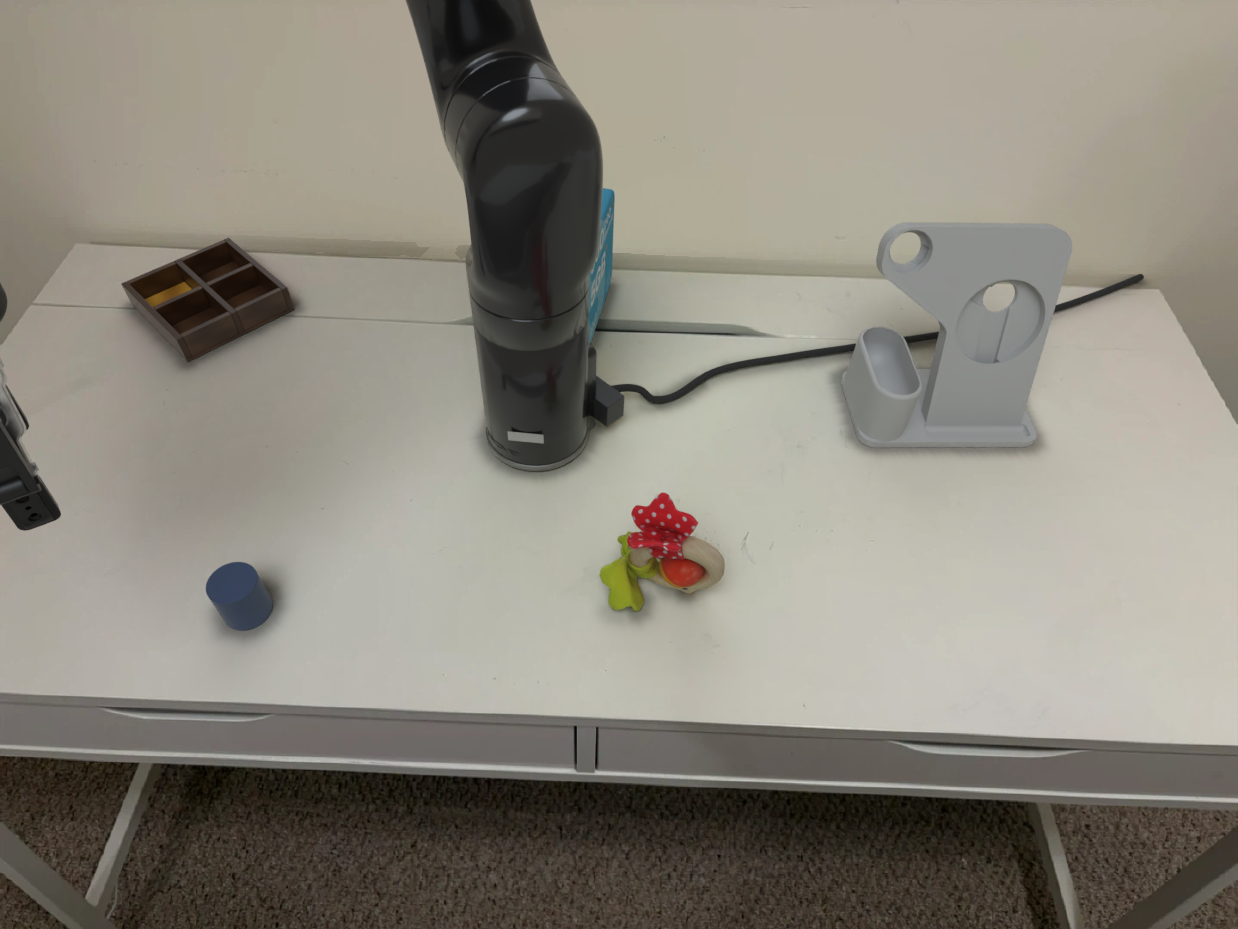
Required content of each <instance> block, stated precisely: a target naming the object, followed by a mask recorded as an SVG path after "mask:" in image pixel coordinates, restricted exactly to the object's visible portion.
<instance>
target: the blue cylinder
mask: <svg viewBox="0 0 1238 929" xmlns="http://www.w3.org/2000/svg"><path fill="white" fill-rule="evenodd" d="M205 592H206V596H207V597H208V599H209V600H210V602H211V603H212V605H213V606H214V607H215V610H216V611H217V612H218V614H219V615H220V617H221V618H222V620H223V621H224V623H225V624H226V625H227V627H228V628H229V629H232V630H235V631H241V632H243V631H245V632H246V631H250V630H253V629H255V628H257V627H259V626H261V625H262V624H264V622H266V620H267V619H268V618H269V617H270V616H271V614H272V611H273V608H274V607H273V599H272V597H271V595H270V593H269V592H268V589H267V588H266V586H265V584H264V582H263V581H262V578H261V577H260V576H259V574H258V571H257V570H256V568H255V567H254V566H252V564H250V563H247V562H244V561H233V562H228V563H226V564H223V565H221V566H219V567H218V568H216V569H215V570H214V571H213V572H212V573H211V574H210V575H209V577H208V579H207V581H206V583H205Z"/></svg>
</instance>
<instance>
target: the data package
mask: <svg viewBox="0 0 1238 929" xmlns="http://www.w3.org/2000/svg"><path fill="white" fill-rule="evenodd" d="M615 197H616V196H615V191H614V190H613V189H612V188H604V187H603V191H602V208H601V223H600V238H599V248H598V254H597V258H596V261H595V263H594V266H593V268H592V269H591V271H590V273H589V342H588V343H589V344H590V345H591V343H592V340H593V338H594V335H595V331H596V329H597V325H598V322H599V319H600V316H601V314H602V310H603V307H604V304H605V301H606V298H607V295H608V292H609V289H610V285H611V281H612V274H613V273H612V272H613V252H614V251H613V249H614V226H615V225H614V224H615V202H616V201H615Z"/></svg>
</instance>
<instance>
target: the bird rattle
mask: <svg viewBox="0 0 1238 929" xmlns="http://www.w3.org/2000/svg"><path fill="white" fill-rule="evenodd" d="M631 518H632V520H633V523H634V524H635V526H636V527H637V528H638V529H639V530H640V531H633V532H631V531H629V530H628V531H627V532H626V533H625V534H621V535H619V536H618V537H617V542H618V543H619V545H621V548H620V553H621V557H620V558H618V559H616V560H614V561H612V562H611V563H608V564H605V565H604V566H603V567H601V569H600V572H599V578H600V581H601V582H602V583H603V585H604V586H606V587H607V588H609V593H608V600H607V601H608V606H609V607H611V608H612V610H614V611H621V610H624V609H626V608H629V607H631V608H632V610H633V611H634V612H636V613H637V612H640V611H641V610H642V609H643V606H644V603H645V597H644V595H643V592H642V590H641V586H640V584H639V581H638V577H639V578H641V579H646V580H648V581H649V582H652V583H654V584H657V585H659V586H662V587H665V588H669V589H674V590H678V591H681V592H683V593H685V594H687V595H691V594H693V593H695V592H696V591H699V590H704V589H708V588H710V587H713V586H714V585H716V584H718V583H719V582H720V581H721V580H722V578H723V576H724V573H725V568H726V562H725V558H724V556H723V554H722V553H721V551H719V549H718V548H717V547H715V546H713V545H712V544H711V543H709V542H707V541H705V540H703V539H702V538H698V537H695V536H693V535H692V533H693V532H694V531H695V530H696V528H697V526H698V525H699V522H698V521H697V519H696V518H695V517H694V515H692V514H691V513H688V512H685V511H681V510H678V509H677V506H676V505H675V503H674V501H673V499H672V498H671V497H670V495H669V493H667V492H660V493H659V494H657V496H655V497H654V498H653V500H652V501H651V502H650V504H649V505H639V504H637V505H635V506H634V507H633V508H632V510H631Z"/></svg>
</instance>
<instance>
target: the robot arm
mask: <svg viewBox="0 0 1238 929" xmlns="http://www.w3.org/2000/svg"><path fill="white" fill-rule="evenodd" d="M404 1H405V3H406V6H407V10H408V13H409V16H410V18H411V21H412V24H413V28H414V32H415V35H416V38H417V42H418V45H419V49H420V52H421V55H422V59H423V62H424V63H423V64H424V66H425V70H426V74H427V78H428V81H429V86H430V90H431V93H432V98H433V101H434V105H435V110H436V115H437V119H438V122H439V126H440V131H441V134H442V138H443V142H444V145H445V147H446V149H447V151H448V153H449V156H450V158H451V159H452V162H453V164H454V166H455V168H456V171H457V172H458V174H459V176H460V178H461V181H462V183H463V187H464V193H465V201H466V207H467V215H468V226H469V233H470V234H469V235H470V245H469V247H468V249H467V252H466V255H465V271H466V278H467V279H466V280H467V286H468V294H469V301H470V310H471V317H472V324H473V332H474V341H475V348H476V356H477V357H476V358H477V364H478V373H479V379H480V381H479V382H480V388H481V396H482V404H483V413H484V420H485V437H486V438H485V439H486V442H487V446H488V447H489V450H490V451H491V453H493V455H494V457H496V458H497V459H498V460H499V461H501V462H502V463H504V464H506V465H507V466H510V467H512V468H513V469H518V470H520V471H526V472H527V471H528V472H544V471H551V470H555V469H557V468H560V467H561V468H562V467H563V466H565V465H567V464H569V463H571V462H572V461H573V460H575V459H576V458H578V456H579V455H580V454H581V453H582V452H583V450H584V449H585V447H586V445H587V442H588V440H589V432H590V431H591V430H592V429H593V428H595V427H596V421H598V422H599V423H600V424H602V425H603V426H604V427H606V428H608V427H610V426H611V425H612V424H613V423H615V422H617V421H618V420H619V419H621V418H623V416H624V412H625V398H626V396H625V395H624V394H623V393H635V394H639V395H640V396H641V397H642V398H643V399H644V400H646V402H649V403H651V404H655V405H660V404H661V405H662V404H668V403H671V402H674V401H677V400H679V399H680V398H682V397H684V396H686V395H687V394H689V393H690V392H692V391H693V390H694V389H695V388H697V387H698V386H700V385H701V384H703V383H704V382H706V381H708V380H710V379H711V378H713V377H716V376H718V375H721V374H725V373H729V372H733V371H737V370H741V369H746V368H752V367H757V366H765V365H772V364H778V363H786V362H791V361H796V360H803V359H810V358H816V357H823V356H829V355H837V354H844V353H850V352H854V349H855V346H856V343H849V344H842V345H835V346H827V347H821V348H815V349H808V350H800V351H795V352H789V353H782V354H777V355H770V356H763V357H756V358H749V359H743V360H740V361H739V360H738V361H735V362H731V363H727V364H723V365H720V366H716V367H713V368H711V369H709V370H707V371H704V372H702V374H699V375H698V376H697V377H695V378H693V379H692V380H690V382H687V384H686V385H684V386H682V387H681V388H680V389H678V390H676V391H674V392H672V393H669V394H665V395H653V394H652V393H650V391H649V390H648V389H646V388H645V387H644V386H642V385H639V384H636V383H635V384H634V383H621V384H613V385H610V384H609V383H607V382H606V381H605V380H603V379H602V378H600V377H599V376H598V375H597V368H598V367H597V366H598V364H597V363H598V360H597V358H598V352H597V349H596V348H595V347H594V346H593V345H592V344H591V343H590V344H589V343H588V342H589V273H590V271H591V269H592V268H593V266H594V263H595V261H596V258H597V254H598V248H599V238H600V223H601V208H602V191H603V188H604V155H603V148H602V142H601V137H600V133H599V131H598V127H597V126H596V123H595V122H594V120H593V118H592V116H591V115H590V113H589V112H588V111H587V109H586V108H585V107H584V105H583V103H582V102H581V101H580V99H579V98H578V97H577V94H575V92H574V91H573V90H572V88H571V86H569V83H567V81H566V80H565V78H564V76H562V74H561V72H560V71H559V69H558V68H557V65H556V64H555V61H554V60H553V57H552V55H551V52H550V51H549V48H548V45H547V43H546V41H545V37H544V35H543V32H542V30H541V27H540V24H539V21H538V18H537V16H536V12H535V9H534V6H533V3H532V0H404ZM1144 279H1145V276H1144V274H1142V273H1138V274H1136V275H1133V276H1130V277H1129V278H1126V279H1124V280H1122V281H1119V282H1117V283H1114V284H1112V285H1109V286H1107V287H1104V288H1102V289H1099V290H1096V291H1093V292H1090V293H1088V294H1085V295H1082V296H1079V297H1077V298H1074V299H1070V300H1067V301H1065V302H1061V303H1058V304H1056V307H1055V310H1054V313H1053V314H1055V313H1058V312H1061V311H1065V310H1068V309H1071V308H1074V307H1075V306H1079V305H1082V304H1085V303H1087V302H1090V301H1093V300H1095V299H1098V298H1101V297H1103V296H1106V295H1109V294H1112V293H1113V292H1116V291H1119V290H1121V289H1124V288H1126V287H1129V286H1131V285H1134V284H1135V283H1138V282H1140V281H1143V280H1144ZM7 309H8V296H7V293H6V290H5V289H4V287H3V285H2V283H1V282H0V323H1V322H2V321H3V319H4V317H5V315H6V312H7ZM938 335H939V330H938V331H931V332H927V333H919V334H915V335H908V336H907V335H906V336H903V337H904V339H905V340H906V342H907V345H908V344H913V343H921V342H926V341H927V342H928V341H932V340H937V339H938ZM4 367H5V364H4V362H3V360H2V358H1V357H0V506H1V507H2V508H3V510H4V511H5V512H6V514H7V515H8V517H9V518H10V519H11V521H12V522H13V524H14V525H15V527H16V528H17V529H18V530H20V531H24V532H26V531H30V530H31V531H32V530H33V529H36V528H40V527H42V526H44V525H47V524H49V523H52V522H56V521H57V520H59V519H60V517H61V516H62V512H61V510H60V506H59V504H58V502H57V501H56V499H55V497H54V495H52V493H51V491H50V490H49V488H48V487H47V485H46V484H45V482H44V480H43V478H42V477H41V476H40V474H39V472H38V471H40V469H39V466H38V464H37V463H36V461H33V460H32V458H31V457H30V454H29V452H28V450H27V448H26V447H25V445H24V443H23V441H22V437H23V436H24V435H25V434H26V432H27V431H28V430H29V428H30V423H29V421H28V419H27V416H26V415H25V413H24V411H23V409H22V408H21V406H20V405H19V403H18V401H17V400H16V398H15V397H14V394H13V393H12V392H11V390H10V388H9V387H8V385H7V382H8V377H7V375H6V373H5V370H4Z"/></svg>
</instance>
